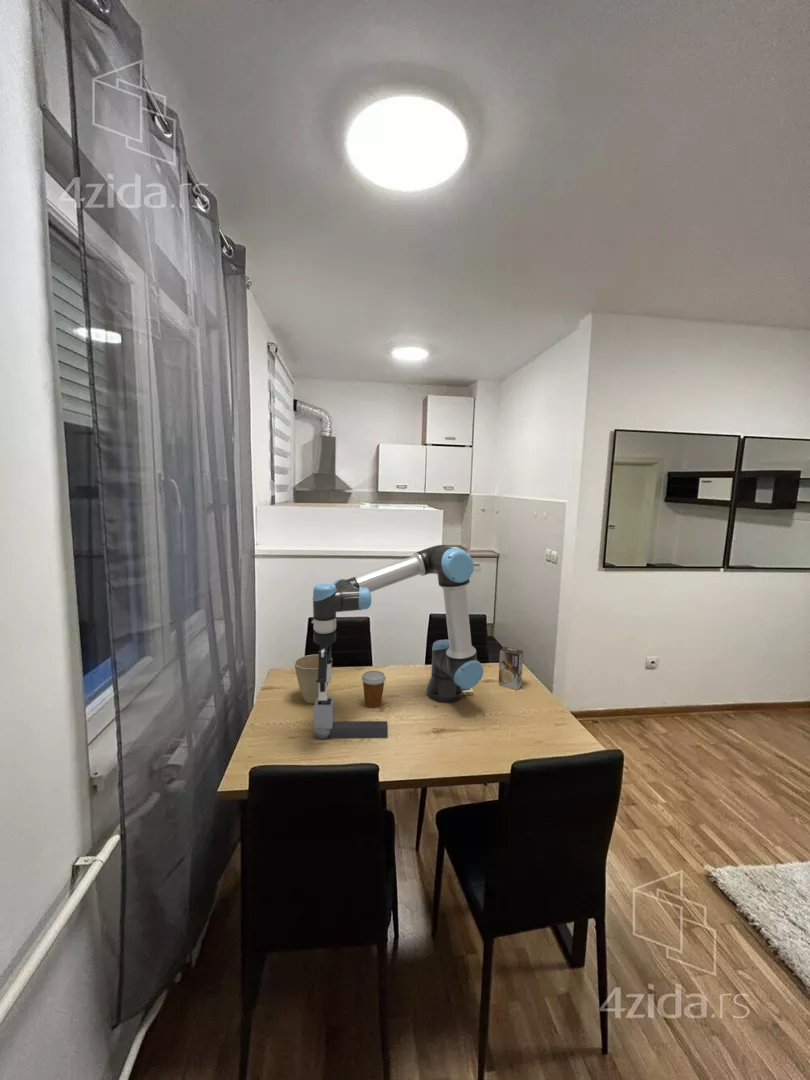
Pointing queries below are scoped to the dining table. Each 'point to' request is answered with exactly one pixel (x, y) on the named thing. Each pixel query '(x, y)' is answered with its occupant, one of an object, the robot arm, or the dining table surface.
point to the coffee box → (510, 667)
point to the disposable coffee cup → (373, 687)
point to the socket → (324, 713)
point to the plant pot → (308, 676)
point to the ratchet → (354, 730)
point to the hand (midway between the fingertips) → (325, 690)
